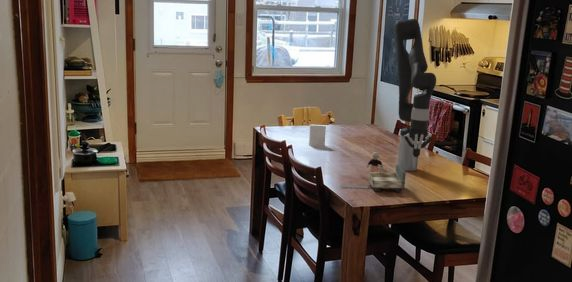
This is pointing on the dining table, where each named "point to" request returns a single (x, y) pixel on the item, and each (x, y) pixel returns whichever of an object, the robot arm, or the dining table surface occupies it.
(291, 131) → the dining table surface
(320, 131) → the light grey upright block
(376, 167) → the grandmother figurine
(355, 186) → the strip
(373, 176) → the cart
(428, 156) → the dining table surface
